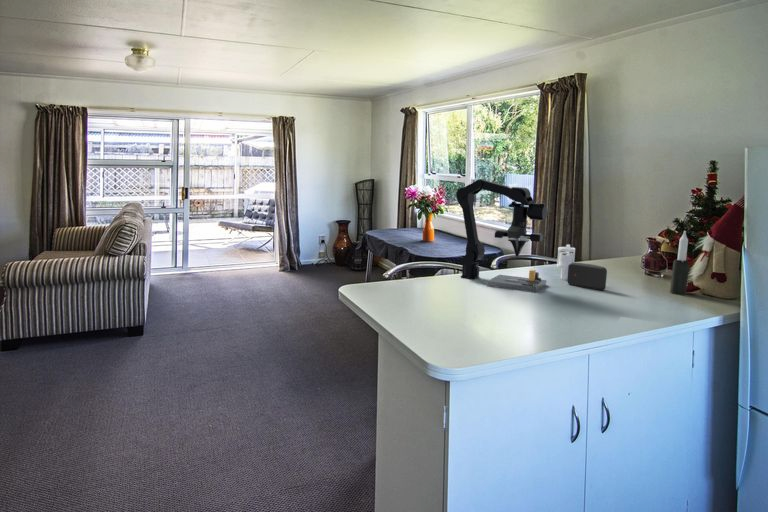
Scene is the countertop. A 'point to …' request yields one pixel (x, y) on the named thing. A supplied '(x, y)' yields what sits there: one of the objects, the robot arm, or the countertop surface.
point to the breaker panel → (517, 283)
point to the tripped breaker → (532, 277)
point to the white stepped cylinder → (565, 260)
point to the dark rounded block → (587, 276)
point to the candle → (680, 268)
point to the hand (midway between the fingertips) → (517, 256)
